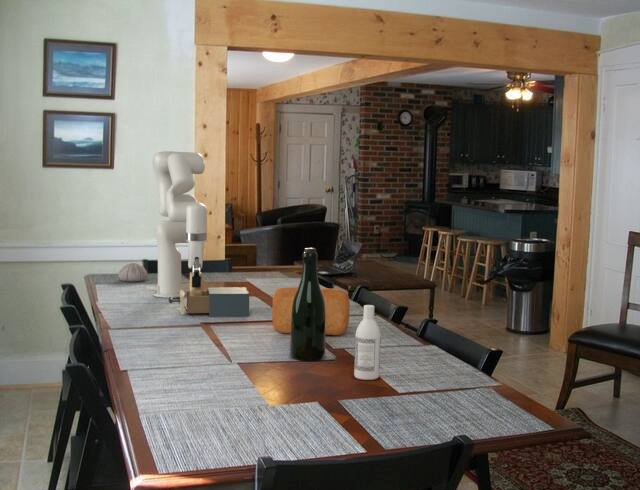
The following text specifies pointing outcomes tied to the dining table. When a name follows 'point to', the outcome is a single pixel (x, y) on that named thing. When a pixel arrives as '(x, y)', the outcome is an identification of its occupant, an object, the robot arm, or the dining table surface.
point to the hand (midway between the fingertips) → (195, 285)
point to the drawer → (193, 302)
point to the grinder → (195, 290)
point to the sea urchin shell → (133, 273)
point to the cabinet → (228, 301)
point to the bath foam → (367, 347)
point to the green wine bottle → (308, 313)
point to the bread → (334, 310)
